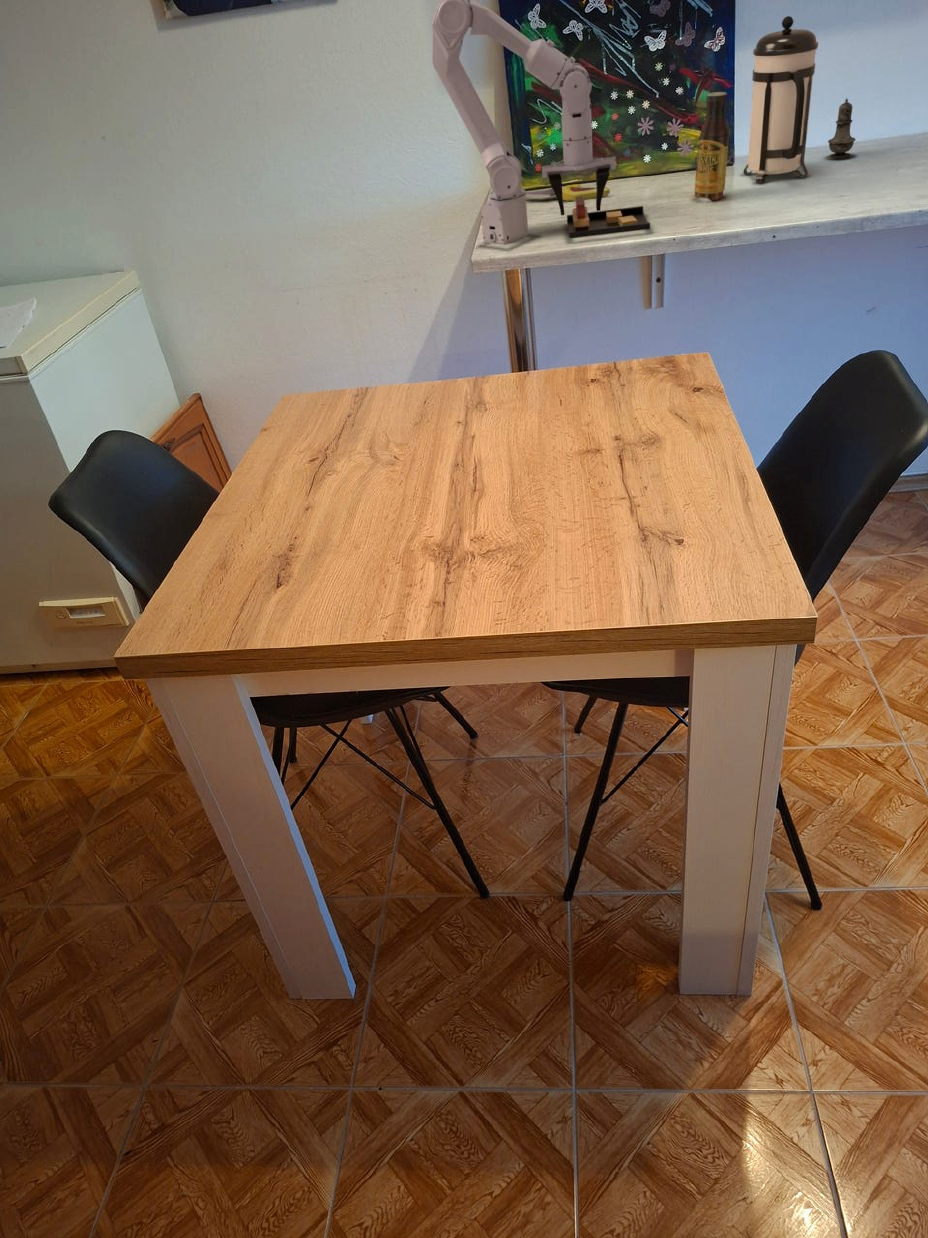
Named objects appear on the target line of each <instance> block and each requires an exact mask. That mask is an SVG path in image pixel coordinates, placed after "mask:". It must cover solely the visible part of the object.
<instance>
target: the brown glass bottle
mask: <svg viewBox="0 0 928 1238" xmlns="http://www.w3.org/2000/svg"><path fill="white" fill-rule="evenodd" d="M727 100H728V93H727V92H726V91H717V92H716V91H715V92H714V91H713V92H709V93H707V94H706V100H705V103H706V109H705V110H706V113H705V119H704V123H703V126H702V128H701V130H700V133H699V137H698V141H697V150H696V151H697V152H696V165H695V180H694V196H695V197H697V198H701V199H703V198H705V199H707V200H709V201H711V202H714V201H718V200H721V199H722V198H723V197H724V191H725V190H726V175H727V167H728V166H727V165H728V164H727V163H728V154H729V153H728V152H729V137H730V136H729V135H730V129H729V127H728V124H727V123H726V119H725V117H726V104H727V102H728V101H727Z"/></svg>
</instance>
